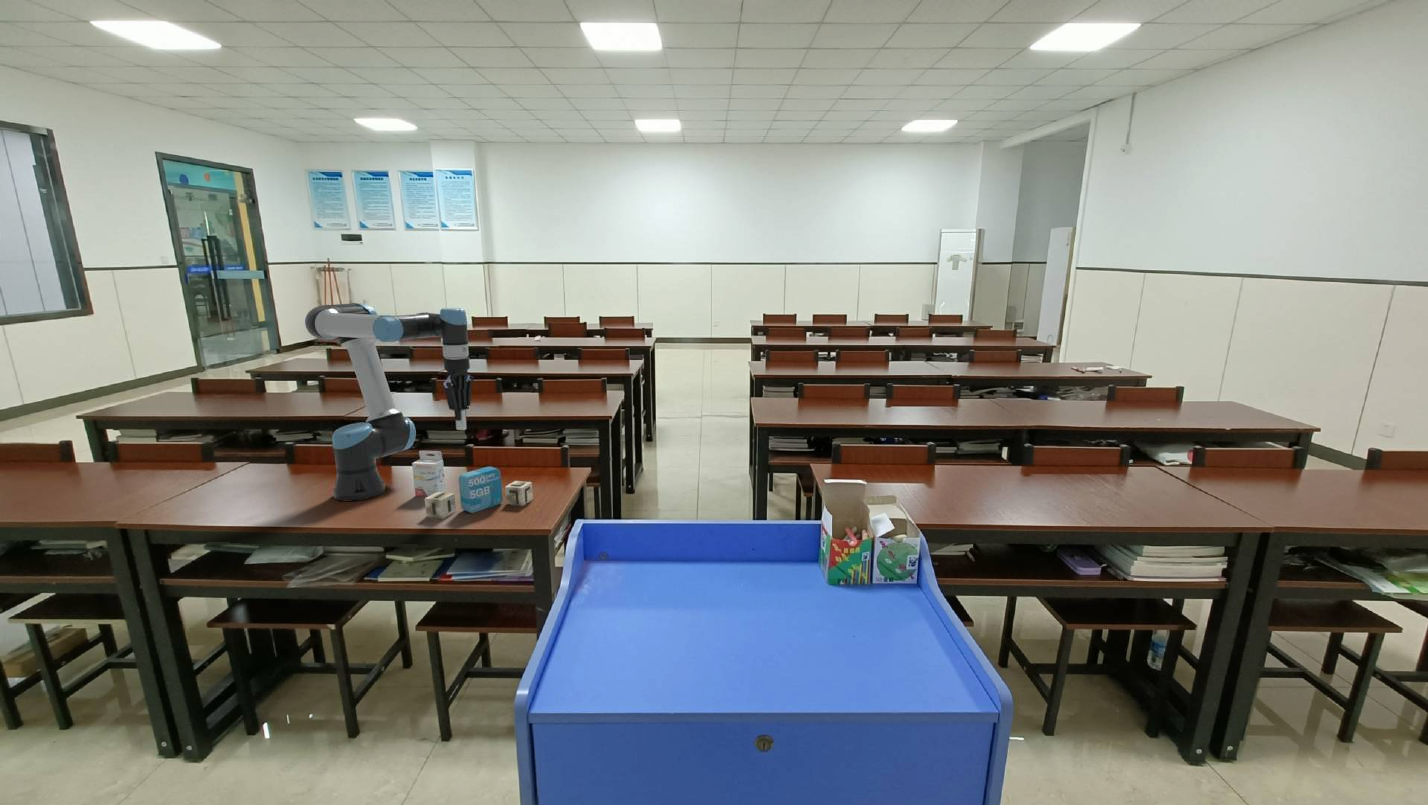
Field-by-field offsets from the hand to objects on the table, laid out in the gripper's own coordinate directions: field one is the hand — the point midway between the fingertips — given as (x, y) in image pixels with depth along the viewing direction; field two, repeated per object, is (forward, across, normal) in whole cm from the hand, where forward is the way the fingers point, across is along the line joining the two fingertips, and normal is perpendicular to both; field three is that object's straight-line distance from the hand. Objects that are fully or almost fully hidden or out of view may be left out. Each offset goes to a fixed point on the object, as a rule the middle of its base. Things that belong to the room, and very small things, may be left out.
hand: (461, 429), depth 202 cm
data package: (+23, -7, -11) cm, 27 cm away
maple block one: (+23, -15, -3) cm, 28 cm away
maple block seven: (+23, 0, -20) cm, 30 cm away
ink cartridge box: (+24, -2, +13) cm, 27 cm away
